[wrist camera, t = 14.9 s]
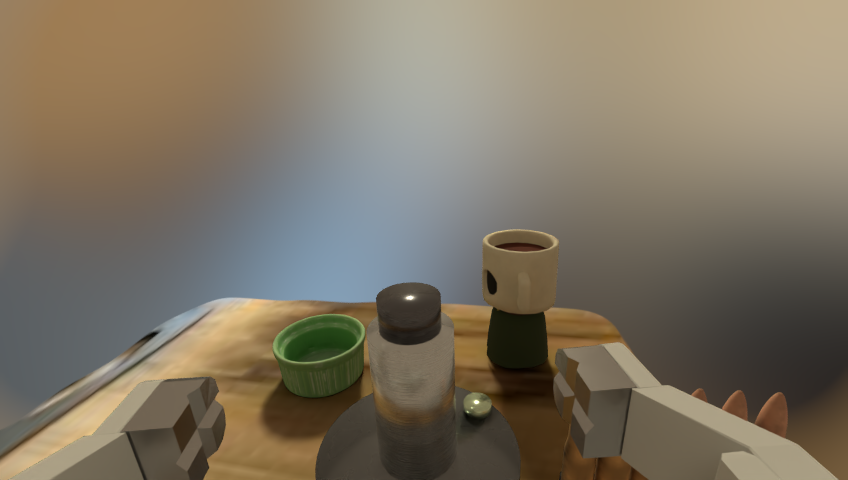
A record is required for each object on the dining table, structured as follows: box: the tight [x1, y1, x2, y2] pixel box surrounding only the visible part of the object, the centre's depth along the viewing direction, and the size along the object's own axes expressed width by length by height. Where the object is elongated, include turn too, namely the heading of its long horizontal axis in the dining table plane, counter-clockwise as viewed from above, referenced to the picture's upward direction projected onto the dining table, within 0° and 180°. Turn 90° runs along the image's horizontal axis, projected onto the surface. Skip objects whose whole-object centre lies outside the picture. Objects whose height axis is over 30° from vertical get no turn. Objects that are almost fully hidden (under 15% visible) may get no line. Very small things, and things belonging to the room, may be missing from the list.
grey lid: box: [316, 386, 521, 480], centre depth 27 cm, size 13×13×5 cm
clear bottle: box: [367, 283, 457, 480], centre depth 24 cm, size 5×5×11 cm
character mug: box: [482, 230, 559, 368], centre depth 40 cm, size 11×7×13 cm, turn 172°
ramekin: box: [273, 314, 365, 398], centre depth 41 cm, size 9×9×4 cm
